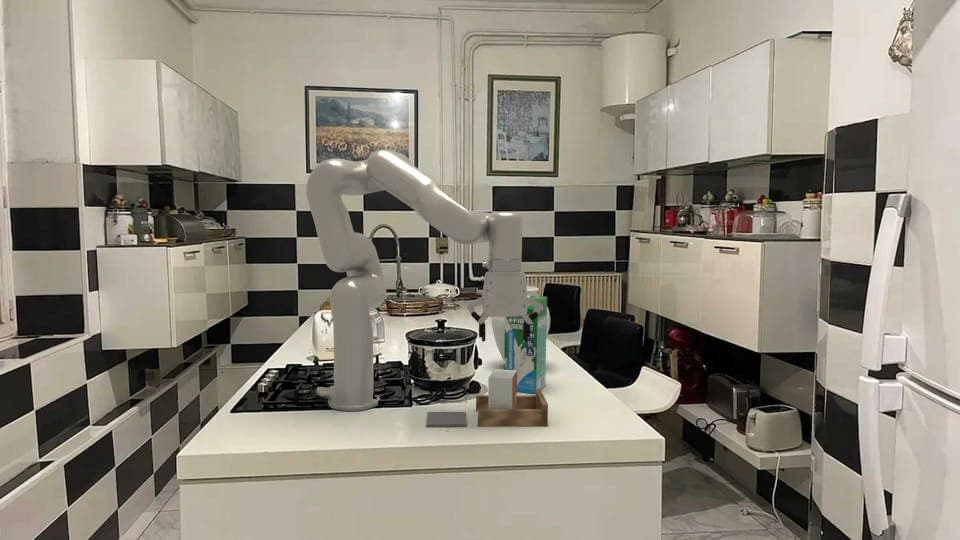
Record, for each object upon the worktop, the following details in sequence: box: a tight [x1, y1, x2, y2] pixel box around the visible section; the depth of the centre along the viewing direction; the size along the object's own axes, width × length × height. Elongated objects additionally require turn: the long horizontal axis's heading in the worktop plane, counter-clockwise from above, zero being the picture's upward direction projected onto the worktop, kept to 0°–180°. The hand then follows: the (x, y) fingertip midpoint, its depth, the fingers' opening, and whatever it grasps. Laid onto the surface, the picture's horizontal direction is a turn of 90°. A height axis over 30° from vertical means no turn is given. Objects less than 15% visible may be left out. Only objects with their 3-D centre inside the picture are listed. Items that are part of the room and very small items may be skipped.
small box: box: [487, 368, 518, 409], centre depth 149 cm, size 8×6×10 cm
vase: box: [491, 285, 551, 361], centre depth 196 cm, size 18×18×25 cm
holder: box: [475, 389, 549, 427], centre depth 150 cm, size 16×12×5 cm
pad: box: [425, 411, 468, 428], centre depth 147 cm, size 9×9×1 cm
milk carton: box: [503, 295, 548, 395], centre depth 174 cm, size 9×9×25 cm
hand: (504, 340), depth 148 cm, fingers open, 9 cm apart
